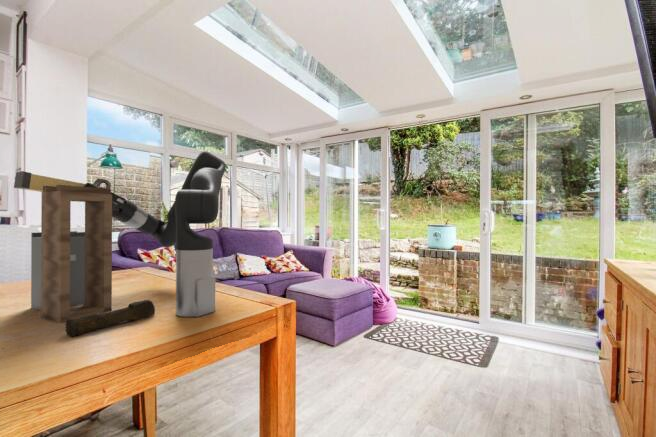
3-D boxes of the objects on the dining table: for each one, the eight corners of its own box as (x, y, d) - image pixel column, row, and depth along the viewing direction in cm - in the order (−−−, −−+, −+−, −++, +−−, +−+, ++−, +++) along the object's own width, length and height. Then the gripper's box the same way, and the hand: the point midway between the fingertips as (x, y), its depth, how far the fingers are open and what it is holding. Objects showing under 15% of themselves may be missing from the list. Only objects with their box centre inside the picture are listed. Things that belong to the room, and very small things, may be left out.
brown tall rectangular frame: (111, 310, 90) (112, 188, 90) (60, 323, 79) (61, 184, 79) (92, 306, 93) (92, 189, 93) (41, 318, 83) (41, 186, 83)
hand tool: (70, 340, 69) (71, 318, 69) (63, 335, 71) (64, 314, 71) (159, 318, 84) (160, 300, 84) (151, 315, 87) (152, 297, 87)
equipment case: (91, 302, 98) (91, 232, 98) (47, 312, 88) (47, 233, 88) (75, 299, 102) (75, 231, 101) (31, 308, 92) (31, 232, 92)
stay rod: (107, 200, 104) (109, 187, 105) (21, 187, 85) (23, 171, 85) (99, 200, 106) (101, 188, 106) (13, 187, 87) (16, 172, 87)
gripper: (121, 204, 118) (75, 176, 104) (147, 204, 111) (101, 174, 98) (111, 222, 114) (61, 196, 101) (137, 223, 108) (88, 195, 95)
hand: (81, 185), depth 99 cm, fingers closed on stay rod, 4 cm apart
